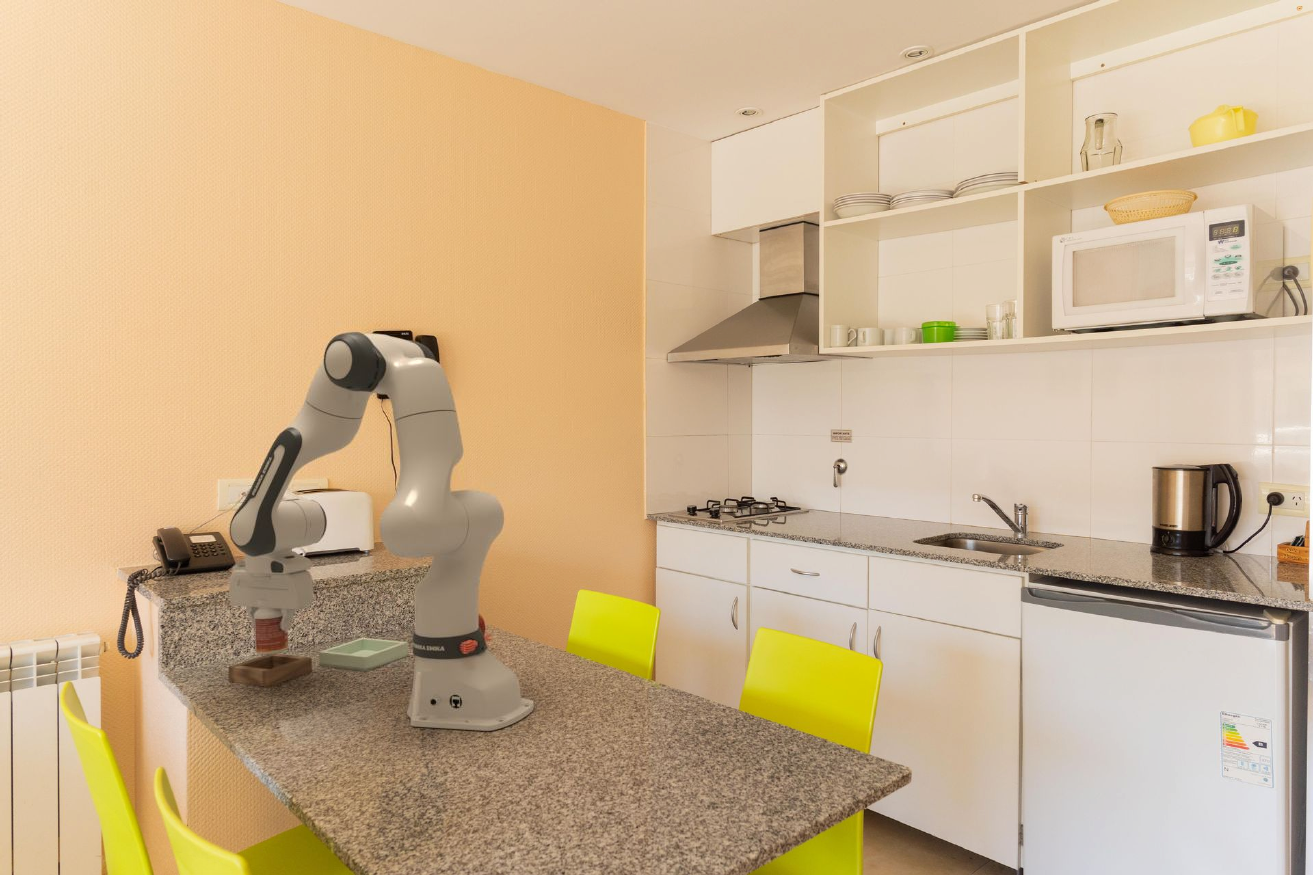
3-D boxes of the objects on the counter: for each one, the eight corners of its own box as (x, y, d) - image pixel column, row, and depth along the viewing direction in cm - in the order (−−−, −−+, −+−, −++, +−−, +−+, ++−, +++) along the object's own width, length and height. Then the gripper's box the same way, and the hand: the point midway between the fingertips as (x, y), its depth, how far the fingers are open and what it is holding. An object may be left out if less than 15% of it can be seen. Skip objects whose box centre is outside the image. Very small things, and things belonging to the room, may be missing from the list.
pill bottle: (292, 651, 167) (291, 597, 167) (261, 657, 163) (259, 602, 163) (282, 646, 172) (280, 594, 172) (251, 652, 167) (249, 598, 167)
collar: (311, 671, 170) (311, 657, 170) (268, 687, 160) (268, 672, 160) (273, 666, 175) (273, 653, 175) (228, 681, 165) (228, 666, 165)
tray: (407, 655, 182) (407, 642, 182) (366, 671, 170) (365, 657, 170) (362, 650, 187) (362, 637, 187) (319, 665, 175) (319, 651, 175)
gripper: (219, 562, 168) (221, 629, 168) (292, 565, 160) (295, 635, 160) (245, 558, 174) (247, 622, 174) (317, 560, 166) (319, 628, 166)
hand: (271, 628), depth 167 cm, fingers closed on pill bottle, 6 cm apart
